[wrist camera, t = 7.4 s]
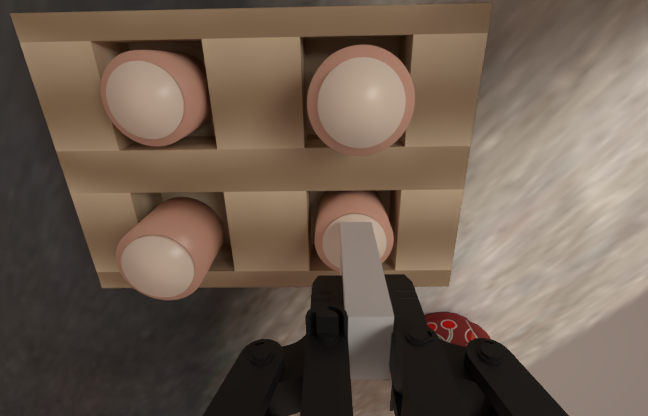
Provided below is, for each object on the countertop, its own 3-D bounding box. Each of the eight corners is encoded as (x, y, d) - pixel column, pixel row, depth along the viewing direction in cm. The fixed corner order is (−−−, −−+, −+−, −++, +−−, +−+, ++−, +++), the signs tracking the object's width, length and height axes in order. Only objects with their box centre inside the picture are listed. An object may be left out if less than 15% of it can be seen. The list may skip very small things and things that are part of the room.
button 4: (315, 182, 20) (313, 208, 17) (385, 181, 20) (397, 207, 17) (317, 242, 22) (315, 277, 18) (382, 242, 22) (392, 277, 18)
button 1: (131, 51, 17) (84, 50, 14) (211, 49, 17) (182, 48, 14) (149, 131, 19) (110, 148, 16) (222, 130, 19) (198, 147, 16)
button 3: (310, 47, 15) (304, 45, 12) (401, 45, 15) (422, 43, 12) (312, 137, 17) (308, 159, 14) (395, 136, 17) (411, 157, 13)
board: (74, 21, 18) (9, 13, 15) (459, 13, 18) (492, 2, 14) (136, 252, 24) (102, 288, 20) (430, 250, 24) (448, 286, 20)
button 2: (143, 197, 18) (101, 229, 15) (219, 196, 18) (193, 228, 15) (159, 261, 20) (124, 304, 17) (228, 261, 20) (208, 304, 16)
